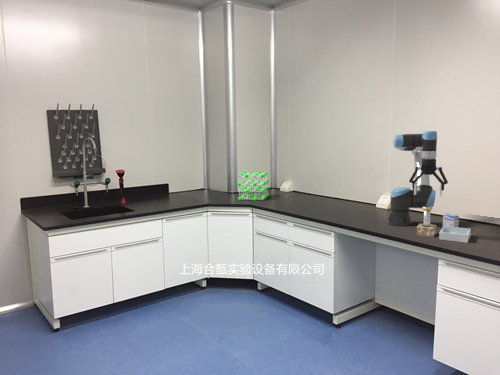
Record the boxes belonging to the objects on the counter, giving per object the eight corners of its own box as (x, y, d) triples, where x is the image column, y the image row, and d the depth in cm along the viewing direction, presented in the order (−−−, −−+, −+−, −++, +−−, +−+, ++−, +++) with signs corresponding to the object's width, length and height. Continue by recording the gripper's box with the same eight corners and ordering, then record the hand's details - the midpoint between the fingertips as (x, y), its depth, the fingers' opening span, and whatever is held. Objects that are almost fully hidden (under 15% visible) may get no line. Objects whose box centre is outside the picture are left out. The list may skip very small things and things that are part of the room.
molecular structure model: (264, 201, 358) (263, 174, 354) (237, 200, 364) (236, 174, 360) (269, 196, 381) (268, 171, 378) (244, 196, 387) (243, 171, 384)
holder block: (416, 235, 233) (416, 226, 233) (419, 231, 241) (420, 223, 240) (433, 237, 228) (433, 228, 228) (436, 233, 236) (436, 225, 235)
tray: (438, 239, 224) (439, 232, 223) (443, 232, 237) (443, 226, 236) (467, 242, 216) (467, 235, 215) (470, 235, 229) (470, 228, 228)
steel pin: (420, 234, 234) (421, 207, 232) (422, 232, 238) (423, 205, 236) (430, 235, 231) (431, 208, 229) (432, 233, 235) (432, 206, 233)
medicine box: (442, 227, 248) (442, 214, 247) (447, 226, 250) (448, 213, 249) (453, 230, 241) (453, 216, 240) (458, 229, 243) (459, 215, 242)
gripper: (404, 158, 232) (403, 194, 235) (452, 159, 218) (450, 197, 221) (407, 157, 238) (406, 192, 241) (454, 158, 224) (452, 195, 227)
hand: (427, 195), depth 231 cm, fingers open, 13 cm apart
